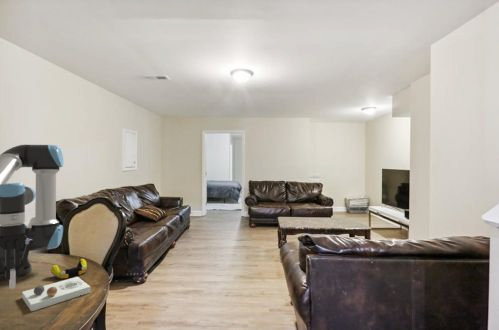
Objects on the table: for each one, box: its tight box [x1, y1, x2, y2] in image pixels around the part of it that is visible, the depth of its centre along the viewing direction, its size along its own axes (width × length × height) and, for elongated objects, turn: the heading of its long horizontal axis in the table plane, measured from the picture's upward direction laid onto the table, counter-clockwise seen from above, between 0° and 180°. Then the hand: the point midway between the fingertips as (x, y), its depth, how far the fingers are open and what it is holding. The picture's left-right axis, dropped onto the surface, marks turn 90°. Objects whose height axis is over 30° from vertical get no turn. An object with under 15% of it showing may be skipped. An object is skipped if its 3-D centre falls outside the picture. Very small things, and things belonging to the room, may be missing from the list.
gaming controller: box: [50, 258, 87, 280], centre depth 137 cm, size 15×6×10 cm
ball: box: [33, 285, 44, 295], centre depth 110 cm, size 3×3×3 cm
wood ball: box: [47, 287, 57, 296], centre depth 109 cm, size 3×3×3 cm
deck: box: [21, 276, 92, 312], centre depth 115 cm, size 16×20×2 cm
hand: (12, 287), depth 104 cm, fingers closed
